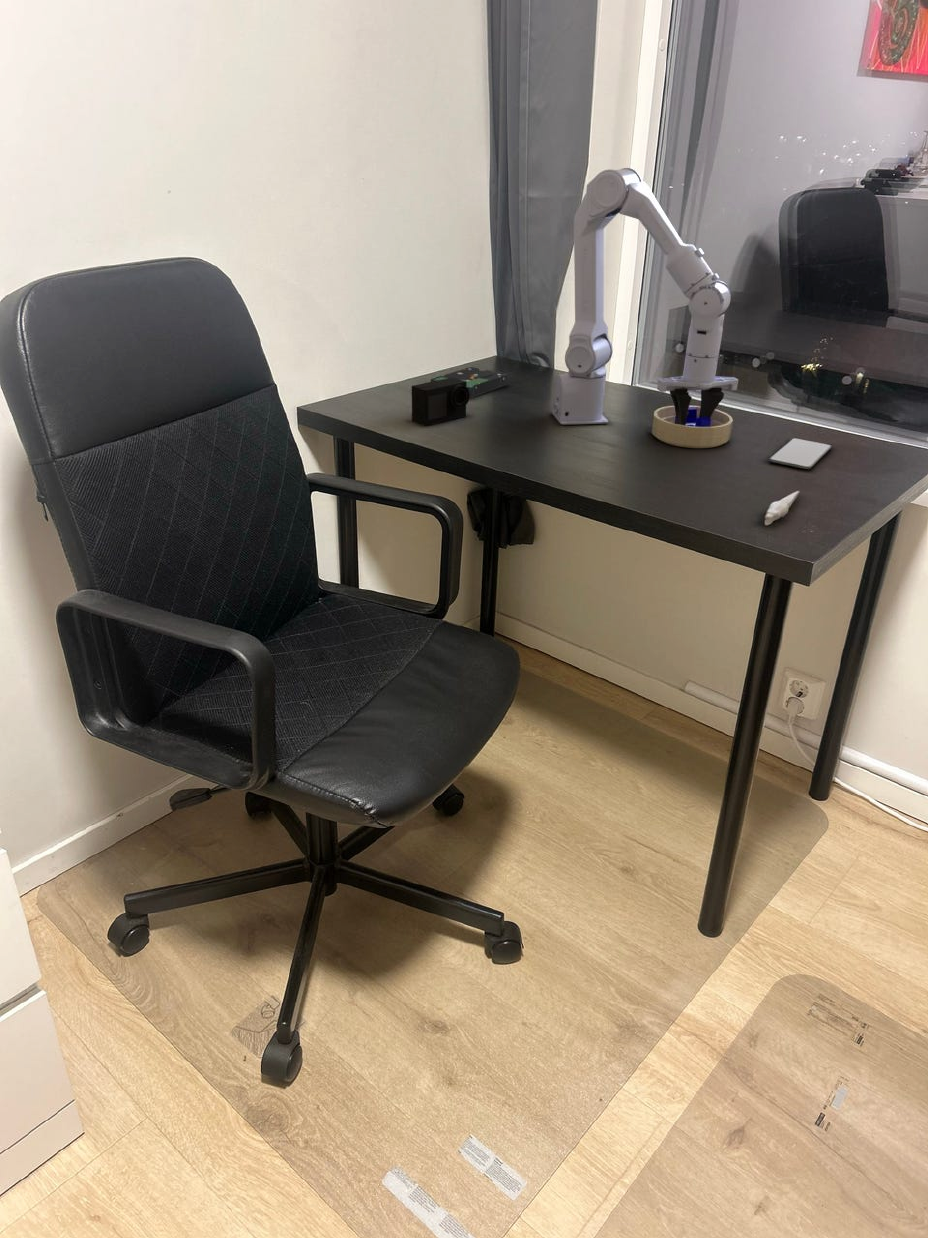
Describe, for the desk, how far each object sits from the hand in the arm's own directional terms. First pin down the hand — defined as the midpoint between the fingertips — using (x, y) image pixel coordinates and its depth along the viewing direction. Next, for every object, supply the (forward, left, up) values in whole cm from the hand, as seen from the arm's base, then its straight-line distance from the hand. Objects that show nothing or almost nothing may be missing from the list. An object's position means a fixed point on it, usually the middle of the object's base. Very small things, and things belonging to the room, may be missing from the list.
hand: (691, 428), depth 163 cm
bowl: (0, 0, -2) cm, 2 cm away
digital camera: (-45, +15, -2) cm, 47 cm away
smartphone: (+16, -12, -2) cm, 20 cm away
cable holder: (0, 0, -1) cm, 1 cm away
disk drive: (-36, +37, -2) cm, 52 cm away
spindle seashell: (+1, -36, -2) cm, 36 cm away
